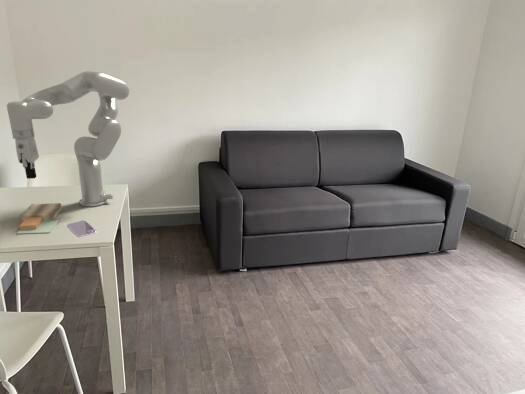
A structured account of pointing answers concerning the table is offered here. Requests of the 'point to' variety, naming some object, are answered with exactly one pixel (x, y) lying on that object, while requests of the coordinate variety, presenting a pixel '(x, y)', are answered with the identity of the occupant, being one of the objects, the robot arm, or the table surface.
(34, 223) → the tile
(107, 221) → the table surface
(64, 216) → the table surface
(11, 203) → the table surface
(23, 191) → the table surface
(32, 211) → the plate
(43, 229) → the mat
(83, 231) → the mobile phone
